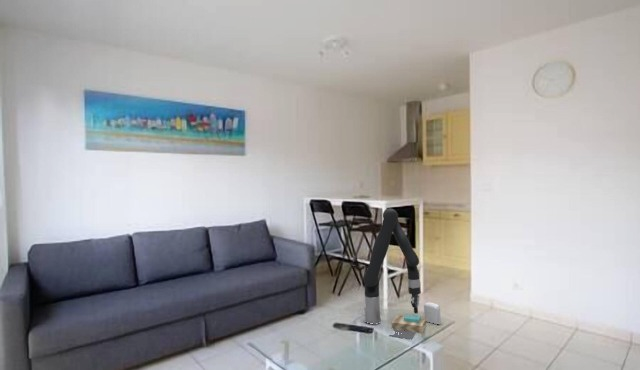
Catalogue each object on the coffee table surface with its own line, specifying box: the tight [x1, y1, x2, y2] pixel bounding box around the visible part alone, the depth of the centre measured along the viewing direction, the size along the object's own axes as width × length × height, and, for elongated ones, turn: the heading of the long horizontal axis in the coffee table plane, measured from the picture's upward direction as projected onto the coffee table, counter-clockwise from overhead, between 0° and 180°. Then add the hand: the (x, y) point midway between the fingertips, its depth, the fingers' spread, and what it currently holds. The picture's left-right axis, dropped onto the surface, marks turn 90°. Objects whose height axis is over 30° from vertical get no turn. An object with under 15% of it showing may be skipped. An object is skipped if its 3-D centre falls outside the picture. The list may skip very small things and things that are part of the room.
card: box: [404, 314, 422, 323], centre depth 217 cm, size 9×6×2 cm, turn 62°
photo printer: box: [423, 301, 442, 325], centre depth 222 cm, size 10×4×12 cm, turn 39°
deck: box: [391, 314, 427, 334], centre depth 217 cm, size 18×12×4 cm, turn 62°
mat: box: [388, 329, 417, 341], centre depth 207 cm, size 13×10×1 cm
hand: (416, 312), depth 225 cm, fingers closed
